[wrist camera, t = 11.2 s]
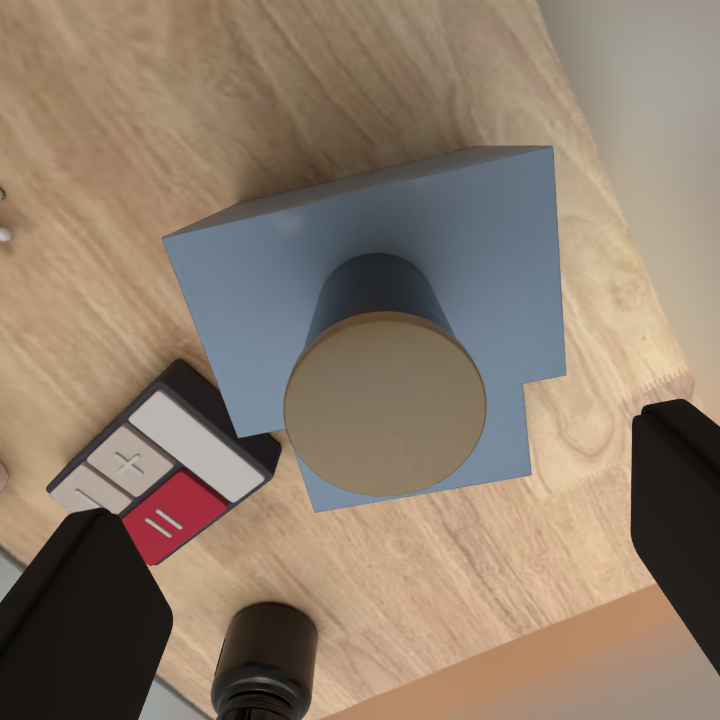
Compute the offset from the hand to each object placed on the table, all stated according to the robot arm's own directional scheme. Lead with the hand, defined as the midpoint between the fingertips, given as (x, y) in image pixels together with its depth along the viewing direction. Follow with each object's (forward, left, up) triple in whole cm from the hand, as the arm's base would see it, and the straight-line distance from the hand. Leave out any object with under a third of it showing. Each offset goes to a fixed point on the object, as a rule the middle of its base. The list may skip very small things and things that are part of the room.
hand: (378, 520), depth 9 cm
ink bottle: (+35, -17, -27) cm, 47 cm away
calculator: (+13, -19, -27) cm, 35 cm away
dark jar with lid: (0, 0, -13) cm, 13 cm away
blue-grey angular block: (+6, 0, -26) cm, 27 cm away
